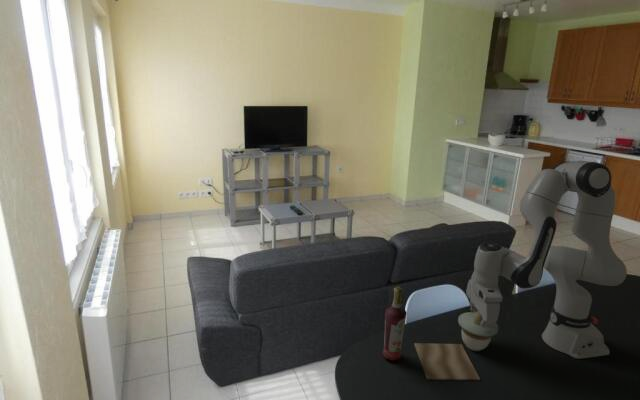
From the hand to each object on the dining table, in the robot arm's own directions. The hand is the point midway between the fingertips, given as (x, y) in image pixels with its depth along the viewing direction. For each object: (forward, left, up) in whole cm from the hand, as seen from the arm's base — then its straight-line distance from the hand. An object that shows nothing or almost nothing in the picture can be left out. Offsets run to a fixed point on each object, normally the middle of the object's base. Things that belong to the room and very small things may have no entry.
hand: (478, 318), depth 143 cm
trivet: (+14, +9, -12) cm, 20 cm away
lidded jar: (0, 0, -12) cm, 12 cm away
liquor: (+33, +7, -12) cm, 36 cm away
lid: (0, 0, -3) cm, 3 cm away
